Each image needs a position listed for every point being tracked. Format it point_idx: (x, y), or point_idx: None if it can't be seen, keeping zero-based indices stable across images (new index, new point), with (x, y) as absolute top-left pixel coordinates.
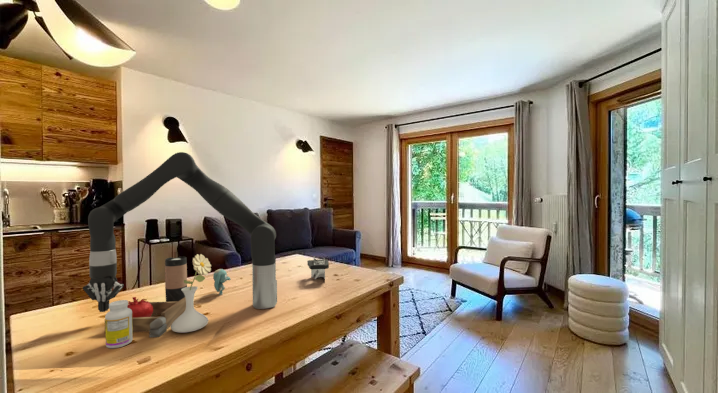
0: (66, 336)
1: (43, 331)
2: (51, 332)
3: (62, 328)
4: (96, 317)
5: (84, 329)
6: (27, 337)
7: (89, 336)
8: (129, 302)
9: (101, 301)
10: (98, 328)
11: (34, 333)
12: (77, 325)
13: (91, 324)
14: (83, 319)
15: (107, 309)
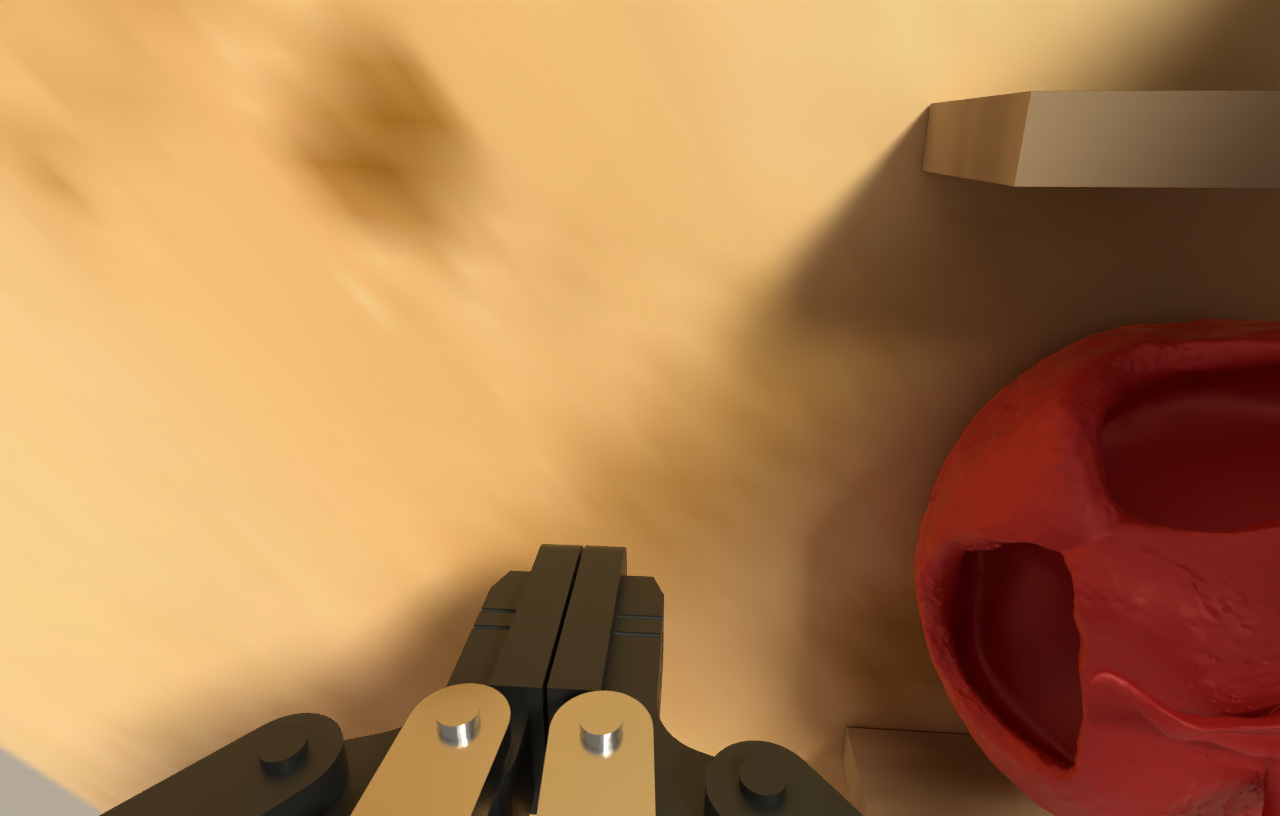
0: None
1: (58, 630)
2: (183, 667)
3: (192, 577)
4: (293, 221)
5: None
6: (66, 747)
7: None
8: (1205, 738)
9: (530, 794)
10: (664, 632)
11: (20, 667)
12: (293, 508)
13: (460, 497)
14: (160, 292)
15: (623, 560)
